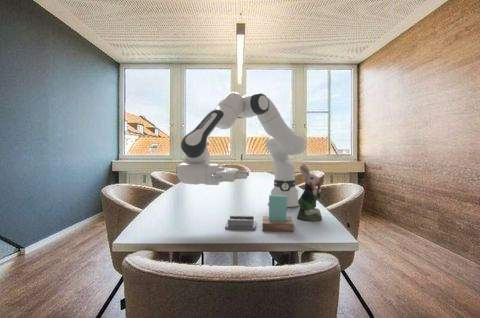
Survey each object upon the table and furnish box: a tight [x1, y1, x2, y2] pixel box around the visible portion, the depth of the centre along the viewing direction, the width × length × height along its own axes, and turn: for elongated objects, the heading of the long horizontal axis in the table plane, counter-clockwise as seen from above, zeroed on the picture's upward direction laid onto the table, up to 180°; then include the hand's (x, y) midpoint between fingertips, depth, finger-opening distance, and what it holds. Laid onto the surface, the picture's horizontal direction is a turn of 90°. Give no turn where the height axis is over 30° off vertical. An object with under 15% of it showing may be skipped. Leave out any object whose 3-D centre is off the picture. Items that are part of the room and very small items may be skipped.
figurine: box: [296, 163, 323, 222], centre depth 143 cm, size 11×13×25 cm
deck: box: [261, 215, 294, 233], centre depth 129 cm, size 12×12×3 cm
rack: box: [224, 214, 257, 231], centre depth 130 cm, size 10×12×4 cm
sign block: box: [268, 194, 288, 221], centre depth 129 cm, size 3×7×10 cm, turn 85°
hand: (248, 175), depth 129 cm, fingers open, 8 cm apart
